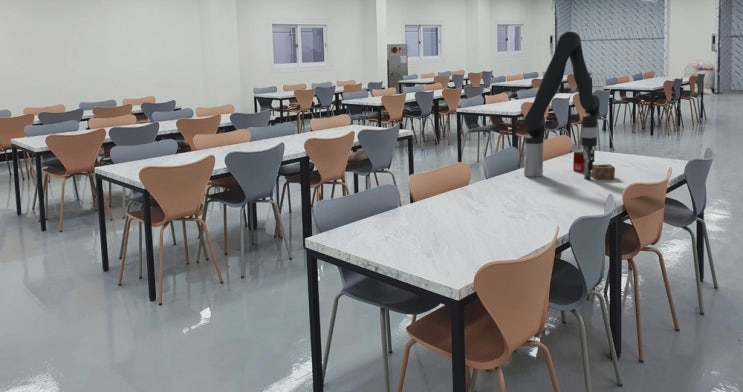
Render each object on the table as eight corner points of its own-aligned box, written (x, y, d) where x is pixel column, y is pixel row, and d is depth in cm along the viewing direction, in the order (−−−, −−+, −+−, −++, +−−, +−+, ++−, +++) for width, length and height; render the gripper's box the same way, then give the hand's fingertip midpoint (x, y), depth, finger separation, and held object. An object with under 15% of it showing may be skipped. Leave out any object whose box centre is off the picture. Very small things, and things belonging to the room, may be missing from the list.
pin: (584, 179, 323) (585, 156, 320) (583, 178, 326) (584, 155, 323) (591, 179, 323) (592, 155, 320) (589, 178, 325) (590, 154, 323)
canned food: (590, 172, 341) (591, 151, 338) (575, 172, 341) (576, 152, 338) (586, 169, 348) (587, 149, 346) (571, 170, 348) (572, 149, 346)
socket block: (595, 179, 322) (596, 167, 320) (591, 176, 331) (592, 164, 329) (614, 179, 321) (614, 167, 319) (609, 175, 329) (610, 164, 328)
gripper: (578, 134, 327) (577, 166, 330) (584, 138, 313) (583, 171, 316) (593, 133, 326) (592, 165, 329) (600, 137, 312) (599, 171, 316)
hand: (588, 168), depth 323 cm, fingers open, 8 cm apart
